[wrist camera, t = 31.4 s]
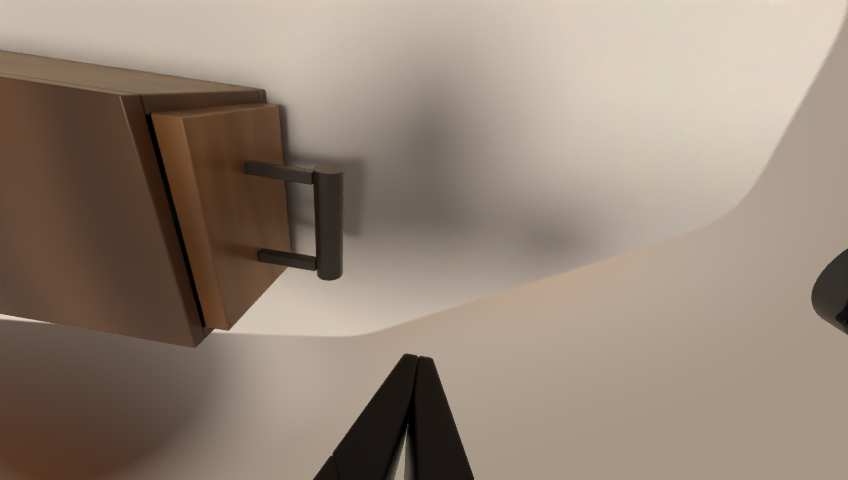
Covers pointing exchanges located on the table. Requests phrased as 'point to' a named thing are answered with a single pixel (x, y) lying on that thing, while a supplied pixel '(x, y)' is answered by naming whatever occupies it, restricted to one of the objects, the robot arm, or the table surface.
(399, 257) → the table surface
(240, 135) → the drawer
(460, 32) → the table surface
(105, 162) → the cabinet
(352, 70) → the table surface
